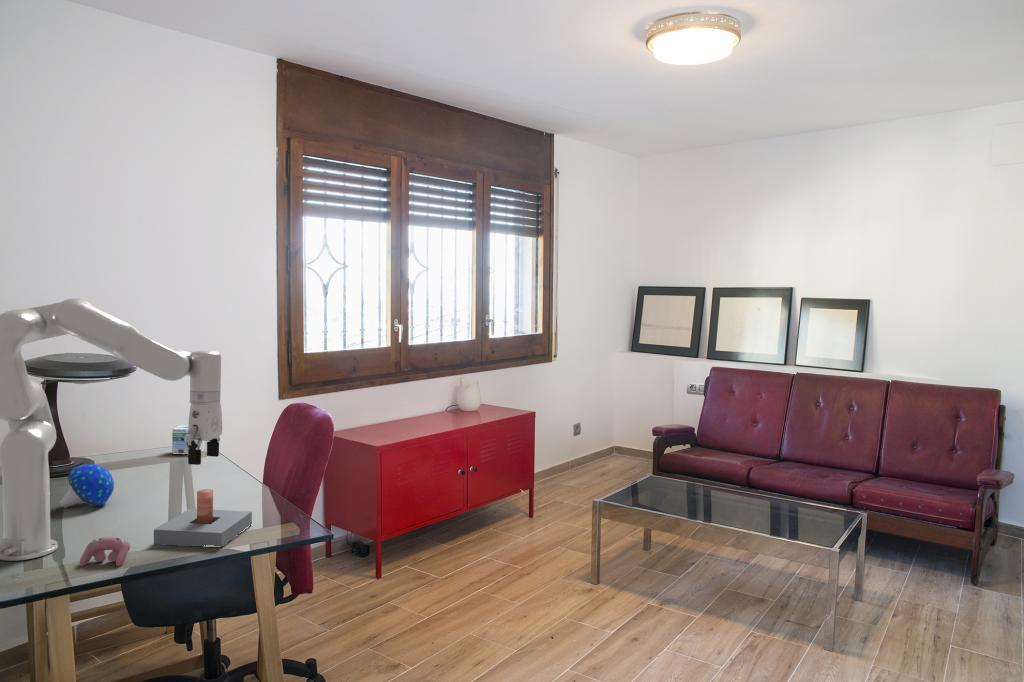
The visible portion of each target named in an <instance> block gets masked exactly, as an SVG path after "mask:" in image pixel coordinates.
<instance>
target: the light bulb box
mask: <svg viewBox="0 0 1024 682" xmlns="http://www.w3.org/2000/svg"><path fill="white" fill-rule="evenodd" d="M187 433H188V425H177V426H176V427H173V428H172V436H171V437H172V439H171V440H172V441H171V443H172V444H171V450H172V451H171V454H172V453H188V449H187V447H188V446H187V443H186V442H187V441H186V438H185V436H186V434H187ZM205 442H206V441H202V444H201V446H200V449H201V451H203V450H204V449H205V448H206V447H205V446H206V445H205ZM195 443H196V444H197V443H198V442H195ZM205 450H206V449H205Z"/></svg>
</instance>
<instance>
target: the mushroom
mask: <svg viewBox="0 0 1024 682" xmlns="http://www.w3.org/2000/svg"><path fill="white" fill-rule="evenodd" d="M67 479H68V483H69V485H70V487H69V489H68V491H67V492H66V494H65V495H64V496H63V497H62V498H61V500H59V504H60V505H61V506H62V507H63V508H68V507H71V506H75V505H77V504H81V503H86V505H88V506H90V507H91V506H92V507H95V508H97V506H98V507H102V506H103V505H104V504H106V503H107V502H108V500H109V499H110V498H111V496H112V494H113V492H114V489H115V482H114V479H113V475H112V473H111V472H110V471H109V470H108V469H107V468H105V467H104V466H101V465H99V464H95V463H94V464H93V463H85V464H84V463H83V464H80V465H77V466H76V467H73V469H71V470H70V471H69V474H68V476H67Z"/></svg>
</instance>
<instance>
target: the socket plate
mask: <svg viewBox="0 0 1024 682" xmlns="http://www.w3.org/2000/svg"><path fill="white" fill-rule="evenodd" d="M251 524H252V525H253V511H245V510H225V509H224V510H223V509H213V523H212V524H197V508H188V509H187V510H186V511H183V512H182V513H180V514H179V515H177V516H175V517H173V518H171V519H170V520H168V521H166V522H165V523H162V524H161V525H159V526H158V527H156V528H154V529H153V545H154V544H165V545H164V546H169V545H177V546H176V547H189V546H204V545H205V546H206V545H214V546H220V547H222V546H224V545H225V544H226V543H228V542H229V541H230V540H232V539H233V538H234V537H235V536H236V535H238V534H239V533H240V532H241V531H243V530H244V529H245V528H246V527H248V526H249V525H251ZM238 536H239V535H238ZM234 539H235V538H234ZM234 539H233V540H234ZM233 540H232V541H233ZM230 542H231V541H230ZM230 542H229V543H230ZM229 543H228V544H229ZM226 545H227V544H226ZM226 545H225V546H226ZM225 546H224V547H225ZM222 548H223V547H222Z"/></svg>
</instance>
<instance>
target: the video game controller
mask: <svg viewBox="0 0 1024 682" xmlns="http://www.w3.org/2000/svg"><path fill="white" fill-rule="evenodd" d="M130 549H131V544H130V543H129V542H128V541H126V540H124V539H122V538H119V537H114V536H113V537H111V536H109V537H108V536H106V537H100V538H96V539H92V541H91V542H89V543H88V544H87V546H86V547H85V549H84V551H83V553H82V554H81V557H80V558H79V559H80V560H79V566H81V567H84V566H86V565H87V564H88V563H89V562H90V561H91V559H92V558H94V561H96V562H98V563H101V562H100V561H102V562H104V561H106V558H107V560H108V561H109V562H111V563H115V565H116V567H118V568H119V567H121V566H122V565H123V563H124V562H125V560H126V558H127V555H128V552H130ZM105 551H111V552H109V553H108V555H107V553H106V552H105ZM115 561H116V562H115Z"/></svg>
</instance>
